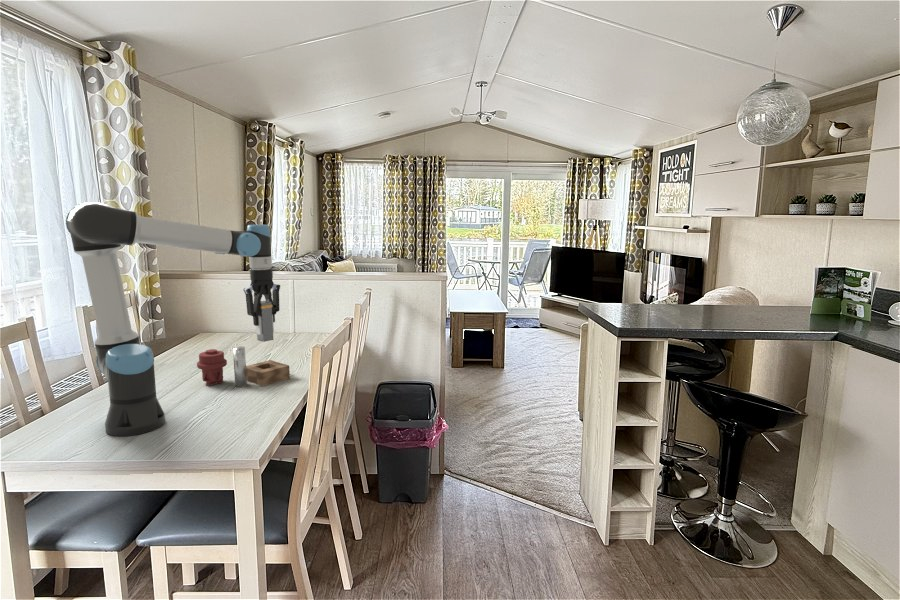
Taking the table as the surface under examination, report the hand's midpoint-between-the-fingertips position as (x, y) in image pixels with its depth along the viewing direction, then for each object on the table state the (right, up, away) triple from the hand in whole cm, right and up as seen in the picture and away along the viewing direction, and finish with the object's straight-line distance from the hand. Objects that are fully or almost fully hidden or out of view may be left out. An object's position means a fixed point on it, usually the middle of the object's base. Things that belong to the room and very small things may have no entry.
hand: (265, 332), depth 192 cm
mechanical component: (-20, -19, +3) cm, 28 cm away
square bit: (0, -3, 0) cm, 3 cm away
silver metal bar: (-9, -19, +1) cm, 21 cm away
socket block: (-2, -18, +9) cm, 20 cm away
